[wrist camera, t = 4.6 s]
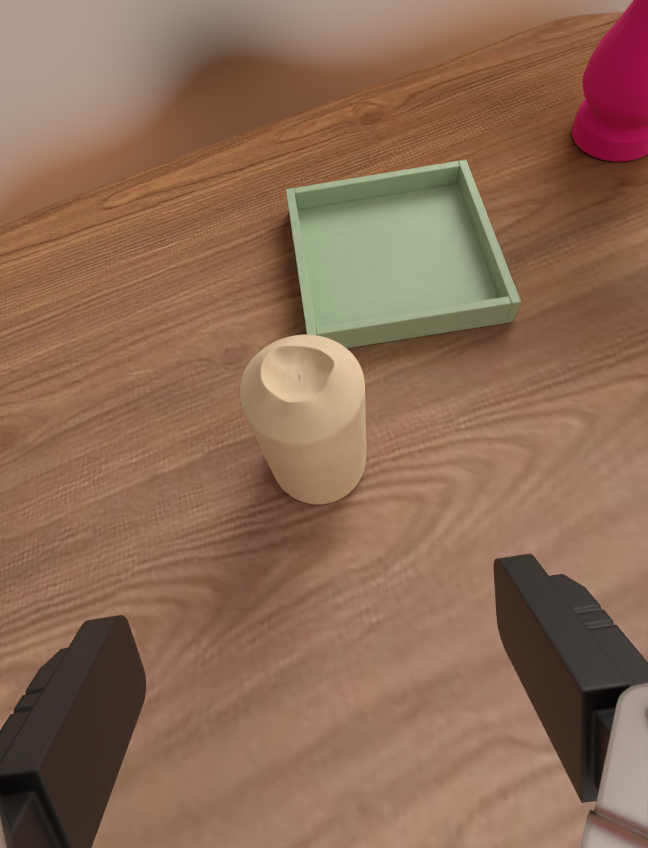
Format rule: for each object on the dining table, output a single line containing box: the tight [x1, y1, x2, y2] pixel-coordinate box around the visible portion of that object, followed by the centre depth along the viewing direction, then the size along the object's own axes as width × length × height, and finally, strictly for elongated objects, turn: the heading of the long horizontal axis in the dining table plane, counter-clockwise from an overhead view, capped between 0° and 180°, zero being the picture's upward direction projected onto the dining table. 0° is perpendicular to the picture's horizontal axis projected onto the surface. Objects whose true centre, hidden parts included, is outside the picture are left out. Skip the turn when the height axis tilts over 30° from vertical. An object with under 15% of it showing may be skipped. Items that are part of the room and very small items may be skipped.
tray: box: [286, 160, 521, 348], centre depth 36 cm, size 13×13×2 cm
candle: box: [239, 335, 366, 504], centre depth 26 cm, size 6×6×10 cm
